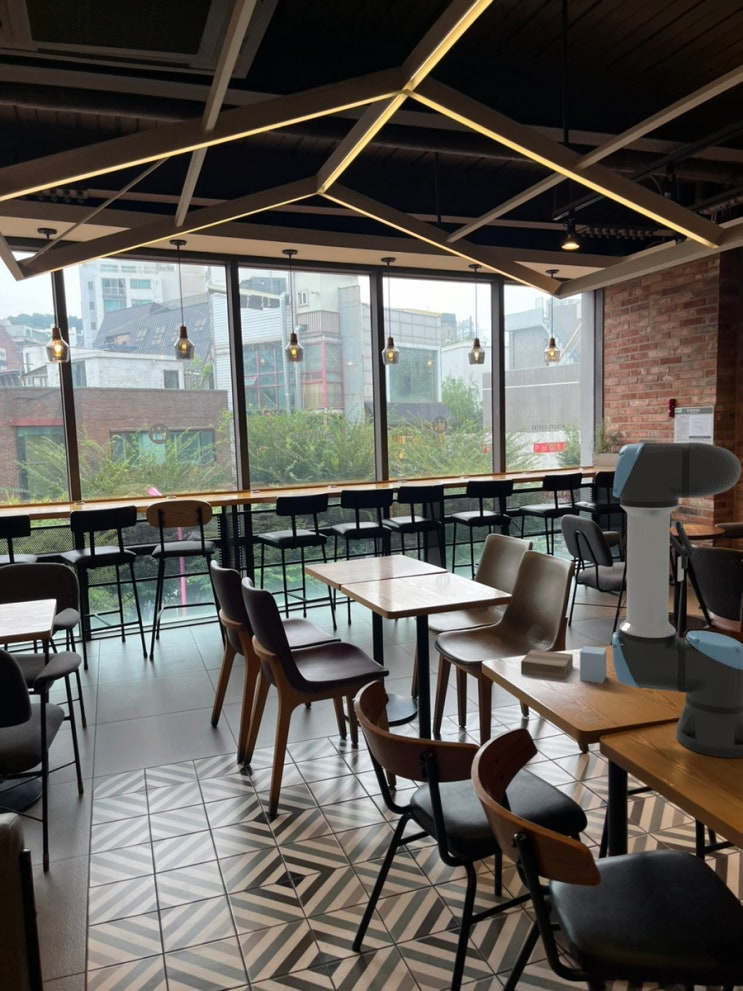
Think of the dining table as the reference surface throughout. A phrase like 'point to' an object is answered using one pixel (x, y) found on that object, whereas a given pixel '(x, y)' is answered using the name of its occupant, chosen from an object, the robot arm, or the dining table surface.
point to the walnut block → (547, 664)
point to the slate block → (593, 664)
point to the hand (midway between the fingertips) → (655, 577)
